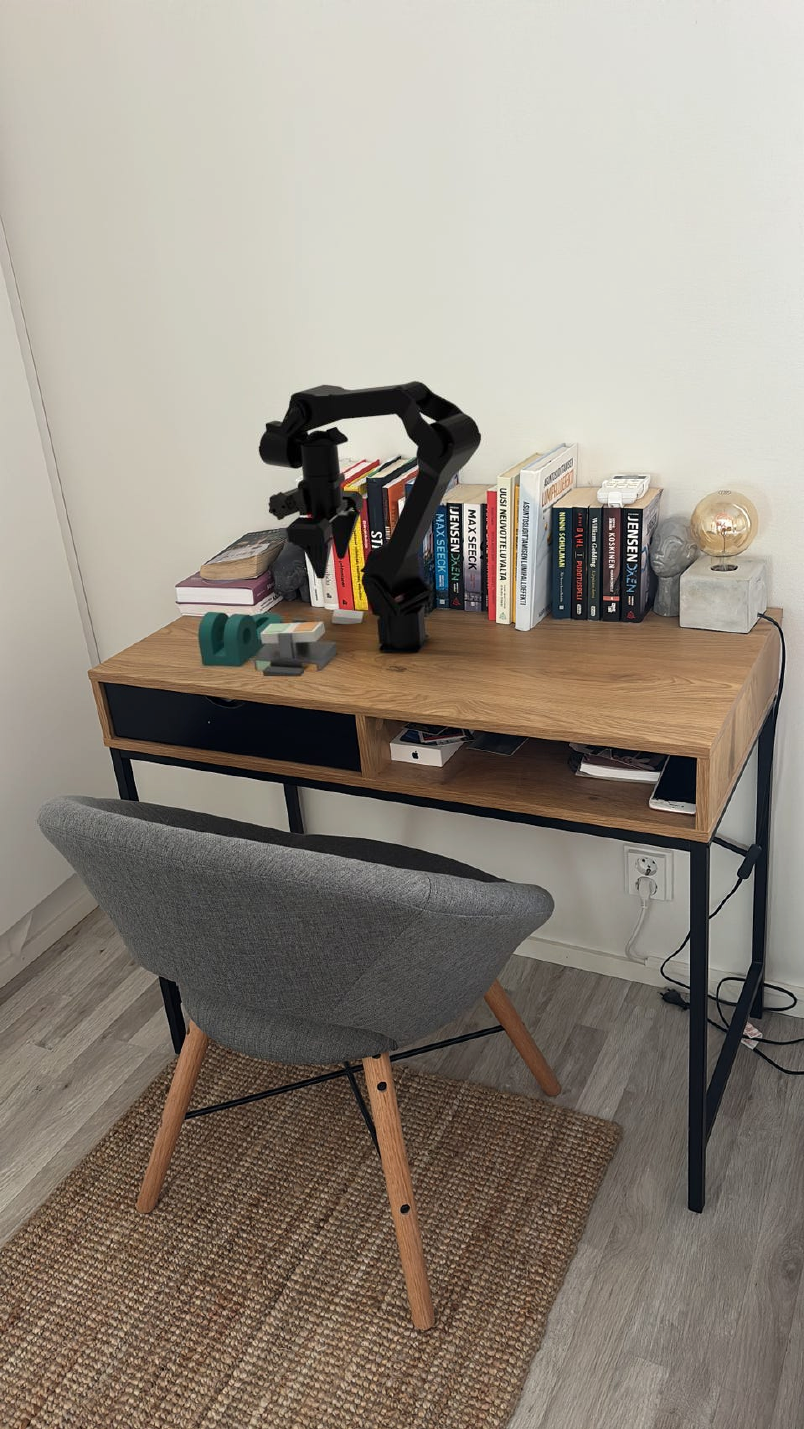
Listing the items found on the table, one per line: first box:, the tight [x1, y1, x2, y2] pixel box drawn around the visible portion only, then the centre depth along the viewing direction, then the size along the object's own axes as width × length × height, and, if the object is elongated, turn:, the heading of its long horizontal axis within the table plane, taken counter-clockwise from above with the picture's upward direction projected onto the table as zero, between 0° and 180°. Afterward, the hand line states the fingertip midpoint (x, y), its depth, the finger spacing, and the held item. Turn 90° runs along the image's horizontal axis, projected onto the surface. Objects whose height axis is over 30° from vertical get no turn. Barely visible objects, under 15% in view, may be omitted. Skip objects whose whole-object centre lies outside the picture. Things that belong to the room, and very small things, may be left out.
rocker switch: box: [260, 621, 326, 644], centre depth 177 cm, size 9×5×2 cm, turn 72°
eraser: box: [331, 608, 364, 625], centre depth 194 cm, size 1×5×4 cm
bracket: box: [197, 611, 283, 667], centre depth 187 cm, size 18×7×8 cm, turn 159°
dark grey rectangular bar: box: [262, 666, 305, 677], centre depth 175 cm, size 6×2×2 cm, turn 73°
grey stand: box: [252, 617, 338, 672], centre depth 178 cm, size 11×7×7 cm, turn 72°
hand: (331, 568), depth 184 cm, fingers open, 9 cm apart
